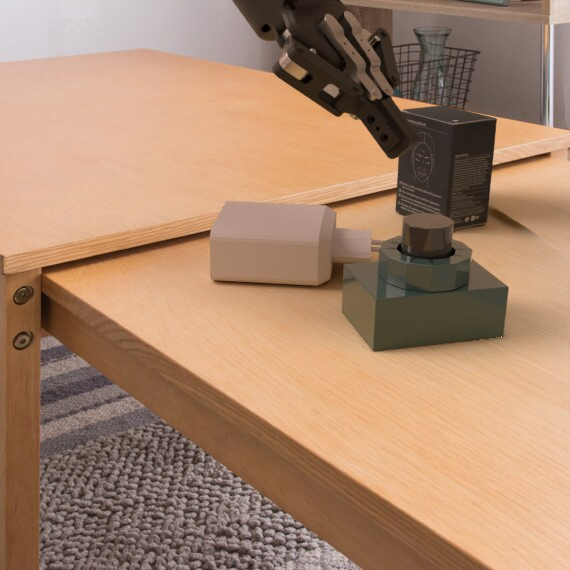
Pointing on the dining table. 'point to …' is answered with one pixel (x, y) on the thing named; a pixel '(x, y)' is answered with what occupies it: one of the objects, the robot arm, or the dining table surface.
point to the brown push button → (427, 236)
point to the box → (447, 165)
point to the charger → (283, 243)
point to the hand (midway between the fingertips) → (406, 150)
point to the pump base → (422, 299)
